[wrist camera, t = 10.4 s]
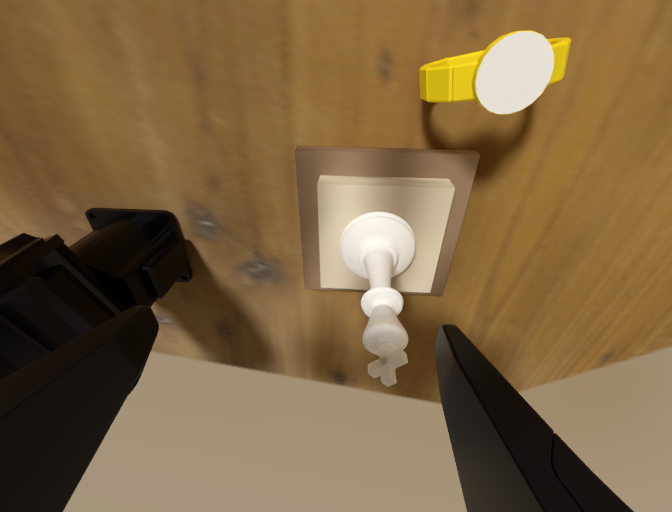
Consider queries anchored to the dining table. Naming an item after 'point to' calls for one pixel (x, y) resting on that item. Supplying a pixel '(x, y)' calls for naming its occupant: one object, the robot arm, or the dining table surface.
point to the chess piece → (380, 284)
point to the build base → (381, 166)
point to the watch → (498, 73)
